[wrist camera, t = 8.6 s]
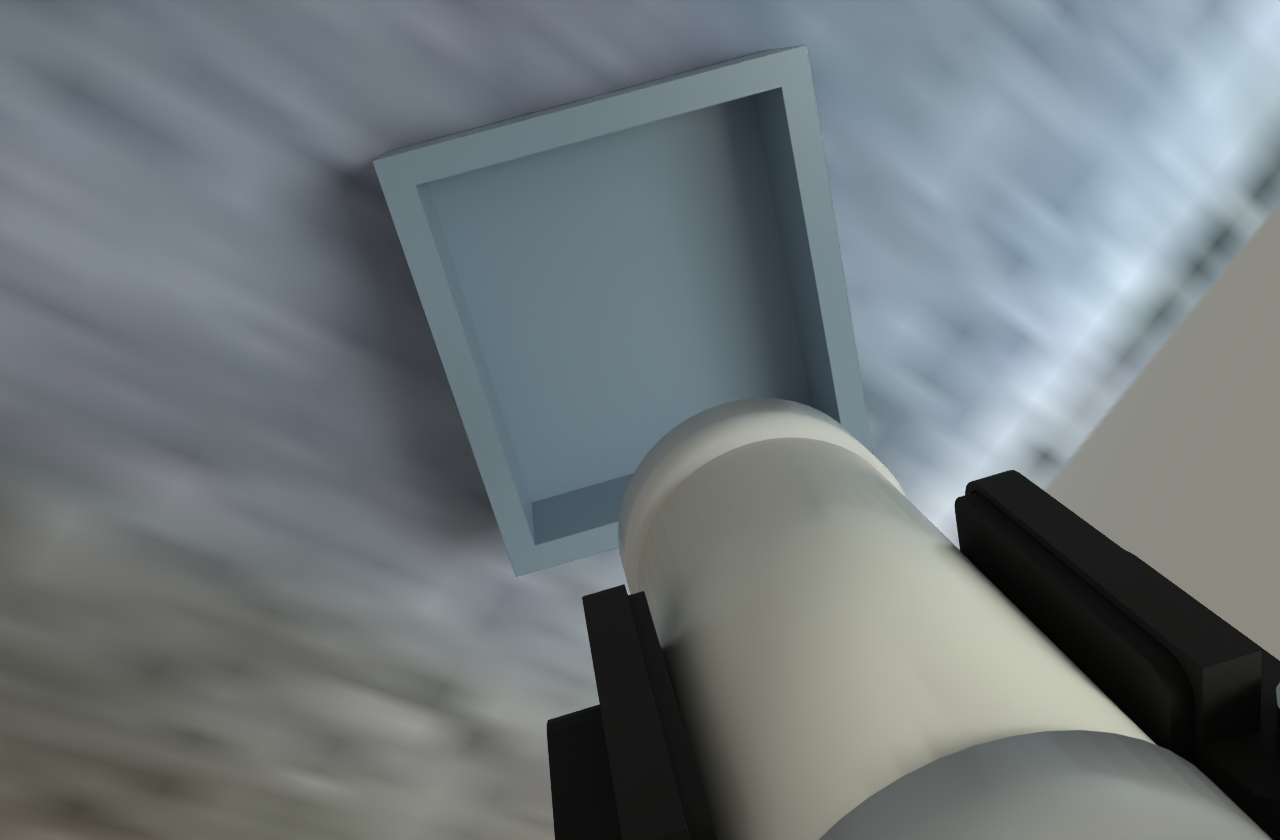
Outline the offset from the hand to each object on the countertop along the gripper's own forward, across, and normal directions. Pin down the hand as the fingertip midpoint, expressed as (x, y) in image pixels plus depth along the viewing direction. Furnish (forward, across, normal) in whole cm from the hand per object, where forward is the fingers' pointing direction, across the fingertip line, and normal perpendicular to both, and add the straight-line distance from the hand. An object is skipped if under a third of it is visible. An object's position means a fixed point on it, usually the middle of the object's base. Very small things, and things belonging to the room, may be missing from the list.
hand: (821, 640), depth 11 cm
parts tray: (+18, 0, 0) cm, 18 cm away
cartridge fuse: (+3, 0, 0) cm, 3 cm away
